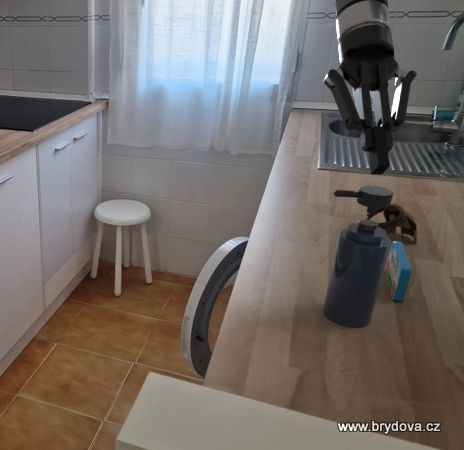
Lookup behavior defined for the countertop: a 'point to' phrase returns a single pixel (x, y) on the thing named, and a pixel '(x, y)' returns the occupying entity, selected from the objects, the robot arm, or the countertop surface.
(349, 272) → the dispenser
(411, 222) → the brown arched figure
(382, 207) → the pump head
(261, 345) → the countertop surface
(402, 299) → the flat blue box
